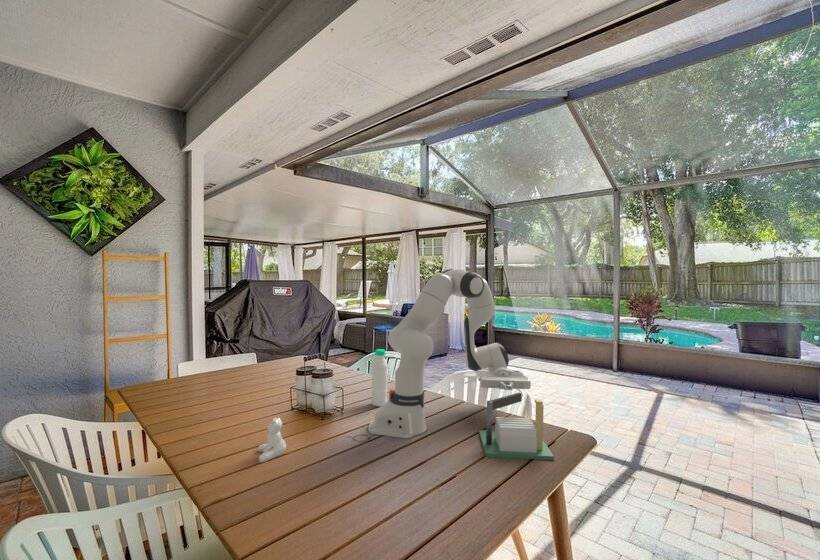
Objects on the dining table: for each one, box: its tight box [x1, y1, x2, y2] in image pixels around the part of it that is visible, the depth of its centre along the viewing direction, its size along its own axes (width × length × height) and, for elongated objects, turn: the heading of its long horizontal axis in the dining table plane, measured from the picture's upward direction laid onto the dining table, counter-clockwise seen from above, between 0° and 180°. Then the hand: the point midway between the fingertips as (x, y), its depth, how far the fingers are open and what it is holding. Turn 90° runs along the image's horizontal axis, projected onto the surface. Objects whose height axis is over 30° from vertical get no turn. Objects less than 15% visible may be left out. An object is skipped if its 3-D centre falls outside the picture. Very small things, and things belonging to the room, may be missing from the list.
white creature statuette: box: [257, 417, 287, 463], centre depth 122 cm, size 10×9×12 cm
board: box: [478, 398, 555, 461], centre depth 131 cm, size 22×18×17 cm
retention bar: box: [485, 392, 523, 444], centre depth 134 cm, size 18×2×14 cm, turn 126°
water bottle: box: [371, 348, 389, 407], centre depth 170 cm, size 7×7×25 cm
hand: (508, 388), depth 147 cm, fingers closed
